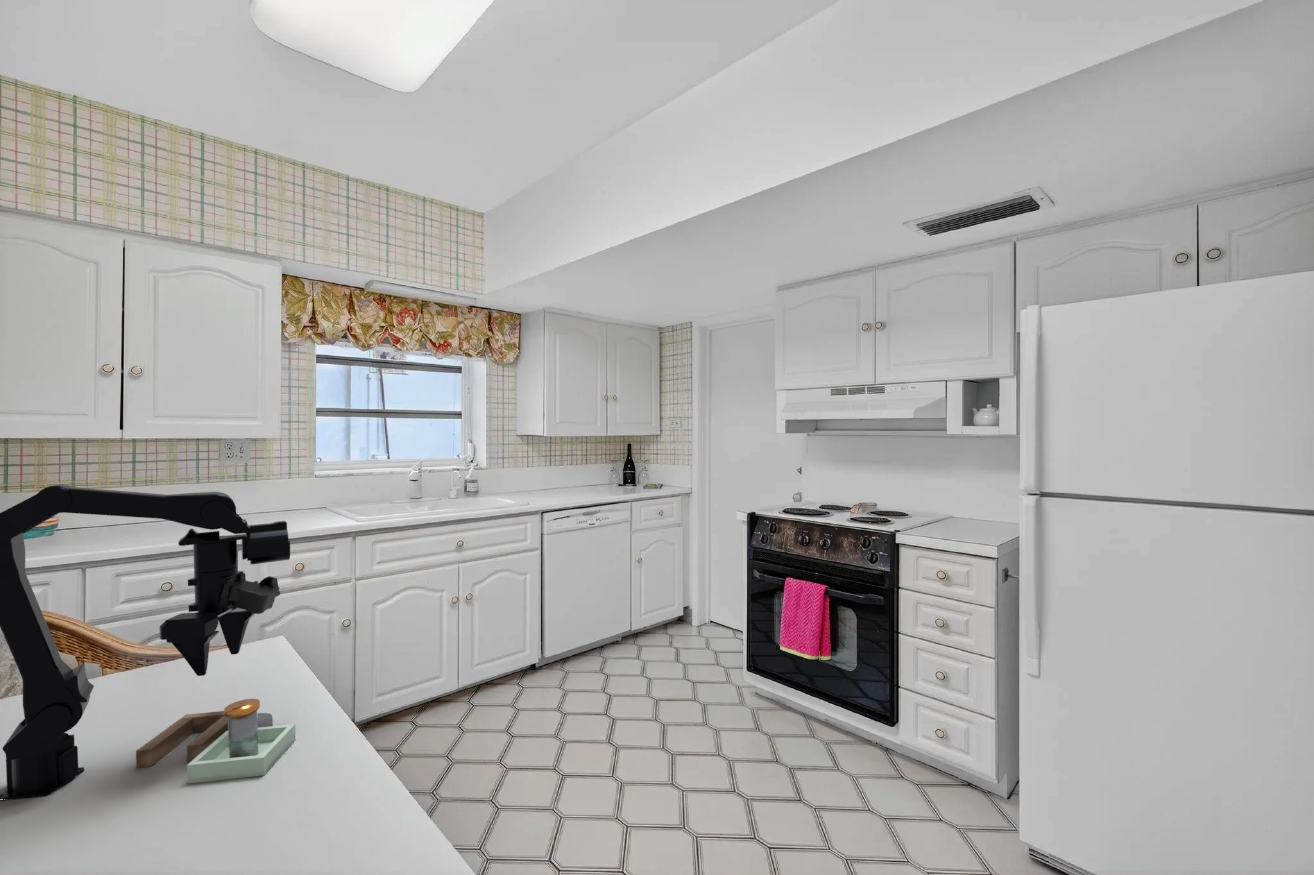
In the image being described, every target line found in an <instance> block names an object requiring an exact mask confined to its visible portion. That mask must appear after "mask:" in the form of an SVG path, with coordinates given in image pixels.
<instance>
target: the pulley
mask: <svg viewBox="0 0 1314 875" xmlns="http://www.w3.org/2000/svg"><path fill="white" fill-rule="evenodd" d="M273 722H274V721H273V715H272V714H271V713H268V712H259V713H258V712H257V726H258V728H260V727H270V726H274V724H273Z"/></svg>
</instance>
